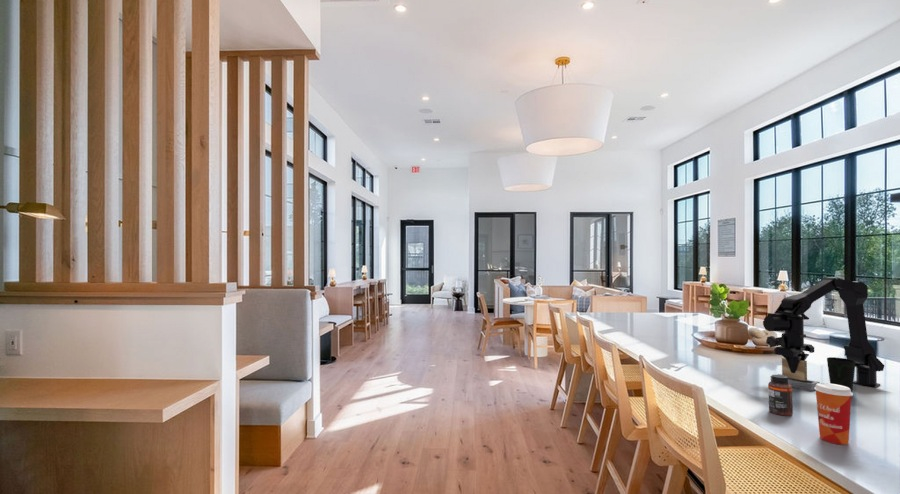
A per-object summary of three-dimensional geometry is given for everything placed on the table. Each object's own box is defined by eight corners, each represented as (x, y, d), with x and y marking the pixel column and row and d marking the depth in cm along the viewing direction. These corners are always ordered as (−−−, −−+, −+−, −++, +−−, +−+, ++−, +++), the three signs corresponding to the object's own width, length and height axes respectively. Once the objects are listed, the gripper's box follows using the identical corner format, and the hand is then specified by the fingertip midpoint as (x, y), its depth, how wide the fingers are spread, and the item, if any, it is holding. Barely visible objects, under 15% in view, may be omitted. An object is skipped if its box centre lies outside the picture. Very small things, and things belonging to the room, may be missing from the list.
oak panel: (785, 375, 170) (784, 357, 170) (807, 379, 164) (806, 361, 164) (782, 376, 168) (781, 358, 169) (804, 380, 162) (803, 361, 163)
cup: (844, 390, 159) (844, 357, 160) (862, 397, 152) (861, 362, 152) (821, 389, 160) (821, 356, 161) (838, 396, 153) (837, 361, 153)
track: (779, 380, 173) (779, 373, 173) (819, 388, 162) (819, 381, 162) (770, 382, 170) (770, 376, 170) (811, 391, 158) (811, 384, 159)
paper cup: (807, 434, 118) (806, 382, 118) (833, 434, 118) (832, 382, 119) (835, 447, 110) (834, 391, 110) (863, 446, 111) (862, 390, 111)
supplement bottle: (788, 411, 137) (787, 374, 137) (796, 417, 131) (795, 379, 132) (765, 408, 139) (765, 372, 139) (772, 414, 133) (772, 377, 133)
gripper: (781, 326, 178) (781, 365, 178) (758, 330, 169) (758, 370, 168) (814, 330, 169) (815, 371, 168) (792, 334, 159) (793, 377, 159)
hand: (794, 372), depth 166 cm, fingers closed on oak panel, 2 cm apart
